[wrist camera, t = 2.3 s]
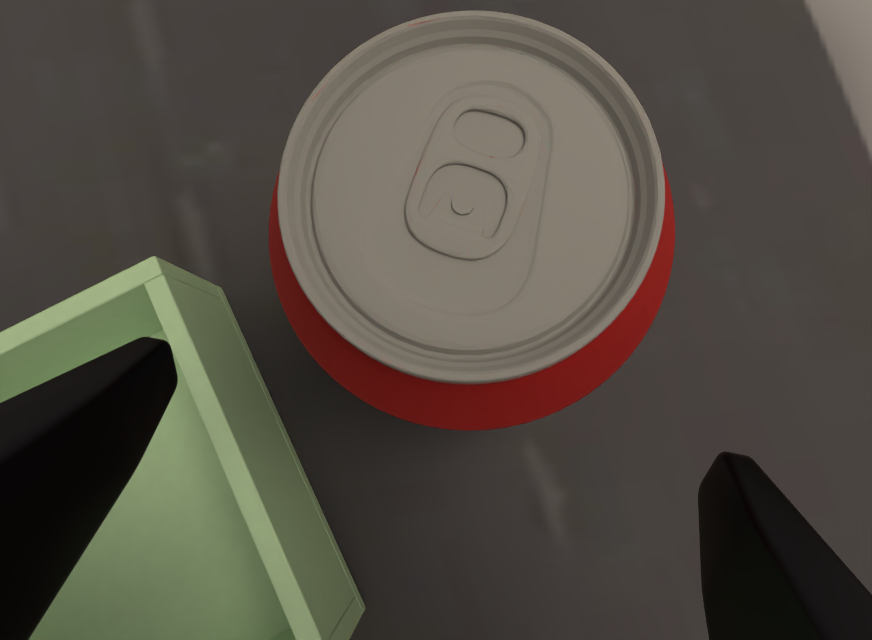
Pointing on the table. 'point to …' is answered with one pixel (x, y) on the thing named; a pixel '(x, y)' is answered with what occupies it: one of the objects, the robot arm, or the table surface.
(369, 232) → the beverage can
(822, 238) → the table surface
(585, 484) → the table surface
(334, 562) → the bin
